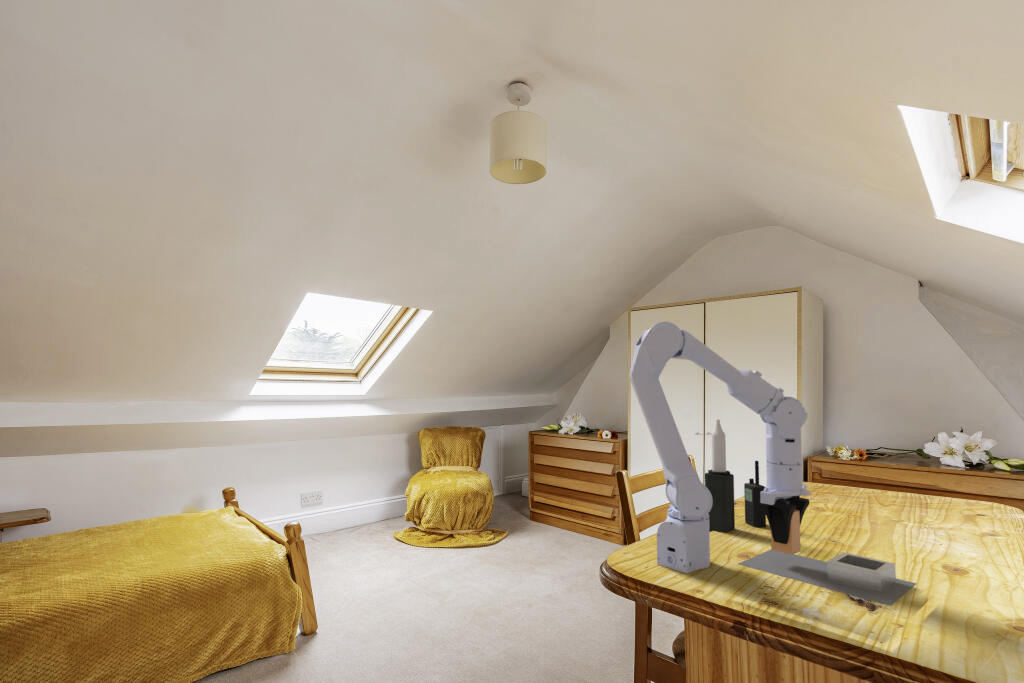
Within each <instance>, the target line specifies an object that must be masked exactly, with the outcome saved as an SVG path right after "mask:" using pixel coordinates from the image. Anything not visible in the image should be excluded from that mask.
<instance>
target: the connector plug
mask: <svg viewBox="0 0 1024 683" xmlns="http://www.w3.org/2000/svg"><path fill="white" fill-rule="evenodd" d="M784 501H785V502H786V504H789V501H787V500H784ZM770 535H771V536H770V537H771V538H770V540H771V549H772V550H775V551H779V552H783V553H788V554H797V553H799V552H801V525H800V511H799V510H795V511H794V513H793V515H792V519H791V523H790V532H789V539H788V543H787V544H782V543H778V542H774V540H773V536H772V533H771V534H770Z"/></svg>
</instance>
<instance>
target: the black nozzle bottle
mask: <svg viewBox="0 0 1024 683" xmlns="http://www.w3.org/2000/svg"><path fill="white" fill-rule="evenodd" d="M715 421H716V423H715V426H714V429H713V431H712V433H711V469H707V471H708V472H705V473H704V486H705V487H707V488H708V490H709V491H710V493H711V495H712V499H713V504H712V508H711V510H710V512H709V513H708V514H709V533H711V532H719V533H722V534H723V533H725V534H726V533H729V532H731V531H732V532H733V531H735V530H736V527H735V526H736V523H735V522H736V520H735V518H736V516H735V480H734V479H735V478H734V477H735V476H734V475H735V474H733V473H731V471H729V470H727V457H726V456H727V453H726V452H727V450H726V441H727V440H726V433H725V432H724V430H723V428H722V425H721V420H720V419H719V418H717V419H716V420H715Z"/></svg>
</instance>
